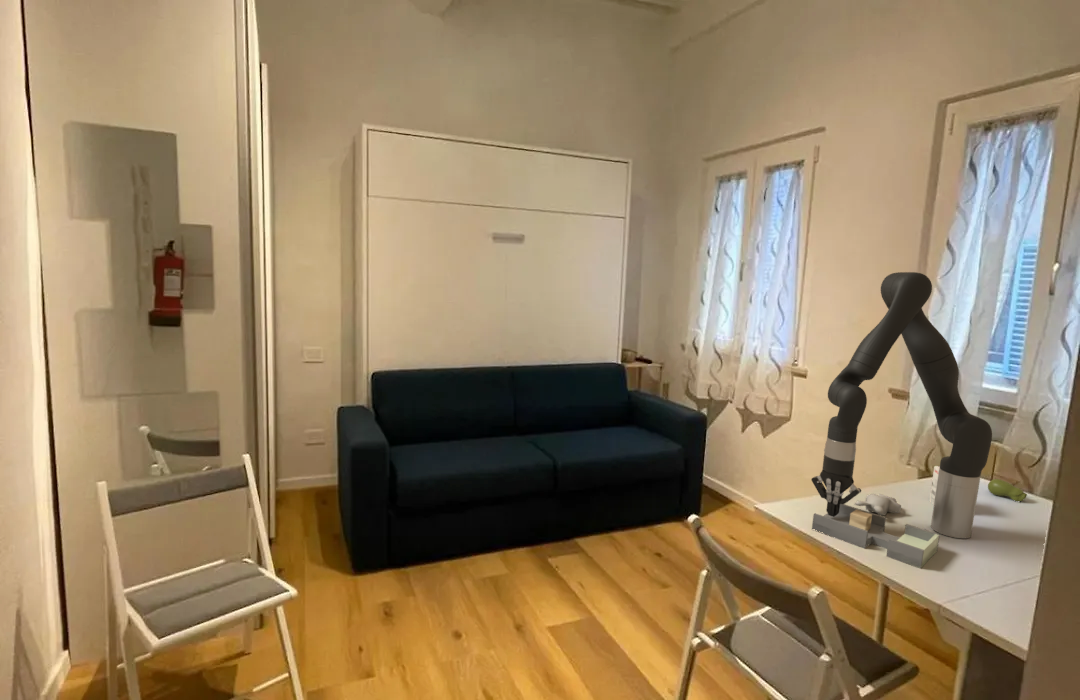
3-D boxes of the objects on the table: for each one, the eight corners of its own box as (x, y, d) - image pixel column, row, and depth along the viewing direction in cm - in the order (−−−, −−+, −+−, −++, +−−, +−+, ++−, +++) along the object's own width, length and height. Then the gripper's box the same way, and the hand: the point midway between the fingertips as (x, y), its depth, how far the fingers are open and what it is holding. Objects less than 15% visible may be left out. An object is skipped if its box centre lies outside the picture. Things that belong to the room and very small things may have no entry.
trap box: (832, 516, 172) (834, 501, 171) (937, 550, 153) (939, 534, 152) (811, 529, 162) (813, 513, 161) (920, 568, 143) (923, 550, 143)
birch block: (854, 523, 162) (856, 509, 162) (870, 528, 160) (872, 514, 159) (848, 527, 160) (850, 513, 159) (864, 532, 157) (866, 518, 156)
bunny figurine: (908, 499, 176) (886, 504, 167) (904, 516, 177) (883, 522, 167) (874, 488, 184) (852, 493, 174) (871, 504, 184) (849, 510, 175)
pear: (993, 474, 196) (1030, 489, 189) (987, 489, 197) (1024, 503, 190) (989, 478, 192) (1027, 493, 185) (983, 492, 194) (1020, 508, 187)
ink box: (959, 514, 176) (965, 476, 175) (940, 512, 177) (946, 474, 176) (945, 503, 185) (951, 466, 183) (928, 501, 186) (933, 465, 184)
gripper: (870, 459, 160) (862, 519, 163) (820, 446, 169) (813, 504, 172) (860, 464, 155) (852, 527, 158) (809, 451, 164) (802, 510, 167)
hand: (832, 515), depth 165 cm, fingers closed
